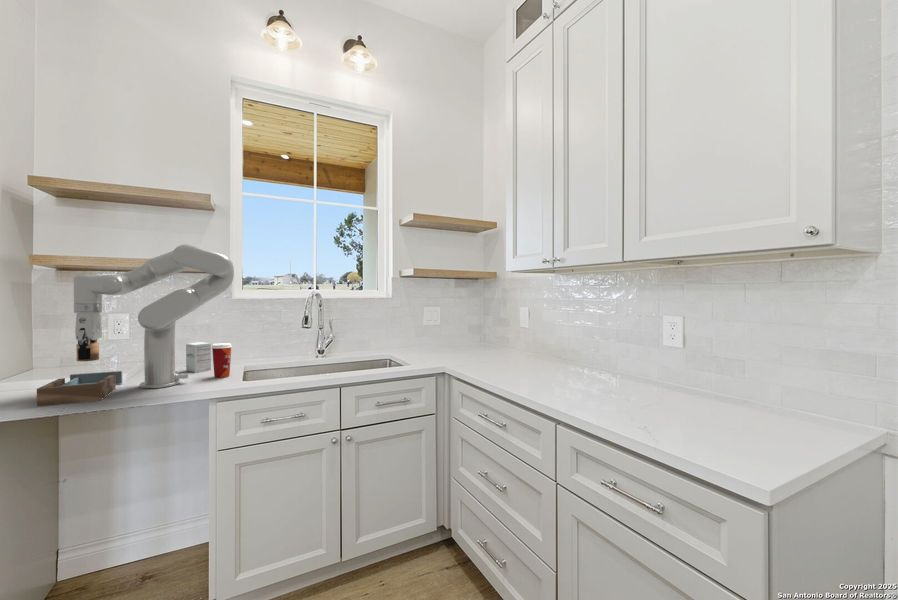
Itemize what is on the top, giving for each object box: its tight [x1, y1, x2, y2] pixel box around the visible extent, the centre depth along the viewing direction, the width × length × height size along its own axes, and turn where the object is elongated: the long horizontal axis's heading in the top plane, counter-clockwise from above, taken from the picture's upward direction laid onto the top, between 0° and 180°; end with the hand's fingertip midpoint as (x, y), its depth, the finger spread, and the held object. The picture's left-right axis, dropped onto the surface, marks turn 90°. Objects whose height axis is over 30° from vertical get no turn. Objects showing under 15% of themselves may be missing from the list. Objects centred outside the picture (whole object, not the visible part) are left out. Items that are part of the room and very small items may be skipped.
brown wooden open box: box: [36, 375, 117, 407], centre depth 133 cm, size 16×16×6 cm
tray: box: [61, 370, 123, 386], centre depth 142 cm, size 15×15×5 cm
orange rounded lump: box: [76, 342, 100, 362], centre depth 141 cm, size 6×6×6 cm
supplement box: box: [185, 341, 212, 373], centre depth 177 cm, size 7×7×13 cm
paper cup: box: [211, 342, 233, 379], centre depth 166 cm, size 8×8×14 cm
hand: (88, 357), depth 141 cm, fingers closed on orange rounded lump, 6 cm apart
